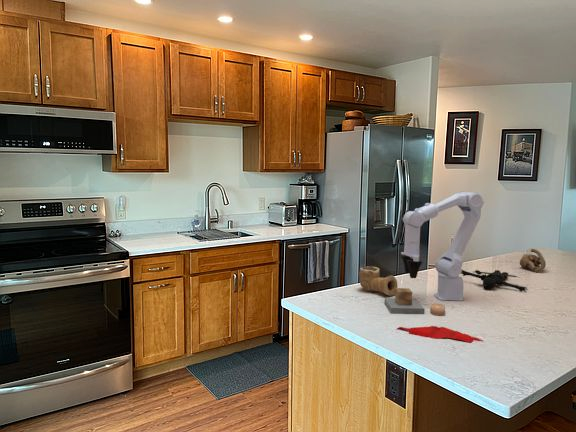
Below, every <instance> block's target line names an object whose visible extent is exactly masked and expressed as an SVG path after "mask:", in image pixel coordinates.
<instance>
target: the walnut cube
mask: <svg viewBox="0 0 576 432" xmlns="http://www.w3.org/2000/svg"><path fill="white" fill-rule="evenodd" d="M394 296H395V297H394V298H395V301H396V303H397V304H398V305H412V299H413V291H412V290H411V289H410V288H406V287H405V288H404V287H403V288H402V287H401V288H400V287H397V288H396V294H395V295H394Z"/></svg>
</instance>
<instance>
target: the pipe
mask: <svg viewBox="0 0 576 432" xmlns="http://www.w3.org/2000/svg"><path fill="white" fill-rule="evenodd" d="M380 276H381V275H380V268H379V267H377V266H365V267H360V268H359V273H358V277H359V284H360V286H361V288H363V289H364V290H365V291H368V292H378V293H383V294H384V295H387V296H388V297H389V296H390V297H392V296H395V294H396V288H398V280H397V278H396V277H395V276H394V275H391V274H390V275H388V276H386V277H380Z"/></svg>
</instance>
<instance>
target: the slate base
mask: <svg viewBox="0 0 576 432" xmlns="http://www.w3.org/2000/svg"><path fill="white" fill-rule="evenodd" d="M383 302H384V305H385V306H386V308H387V310H388V311H389V312H390V314H403V315H406V314H408V315H409V314H410V315H411V314H413V315H425V309H426V308H425V307H424V306H423V305H422V304H421V303H420V302H419V300H417V298H412V305H398V304H397V303H396V301H395V297H394V298H393V297H385V298H384V301H383Z"/></svg>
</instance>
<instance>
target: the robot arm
mask: <svg viewBox="0 0 576 432" xmlns="http://www.w3.org/2000/svg"><path fill="white" fill-rule="evenodd" d="M484 203H485V202H484V199H483V197H482V195H481V194H480V193H479V192H469V191H468V192H467V191H460V192H458V193H454V194H453V195H451V196H449V197H447V198H445V199H443V200H441V201H439V202H437V203H435V204H434V203H433V202H426V203H424V205H423V206H421V207H418V208H417V207H416V208H415V209H414V210H413V211H412V210H409V211H406V212H405V214H404V215H403V217H402V222H403V223H404V245H403V246H404V249H403V252H402V251H401V252H400V254H401V255H400V257H401V259H402V262H403V268H404V272H405V274H409V277H410V279H417V276H418V273H419V269H420V267H421V266H422V265H423V261H422V260H420V246H421V245H420V244H421V242H420V241H421V227H422V226H423V224H424V223H425V222H427V221H429V220H431V219H434V218H437V216H438V215H439V213H440V212H442V211H445V210H447V209H449V208H453V207H456V206H457V207H458V208H459V209H460V211H461V212H462V214H463V219H462V222H461V223H460V225H459V228H458V230H457V231H456V234H455V236H454V238H453V240H452V242H451V244H450V246H449V248H448V249H447V251H446V252H443V253H442V254H441V256H440V257H439V258H438V259H437V260H436V262H435V266H434V267H435V270H436V271H437V275H438V276H437V290H436V291H437V292H434V293H433V294H434V296H435V297H436V298H438V300H440V301H464V288H465V287H464V286H465V285H464V279H463V276H460V275H461V274H460V273H461V271H462V270H461V269H462V267H463V265H464V262H463V258H462V256H463V254H464V253H465V250H466V248H467V245H468V243H469V242H470V240H471V238H472V235H473V233H474V231H475V229H476V228H477V225H478V223H479V221H480V219H481V214H482V207H483V205H484Z"/></svg>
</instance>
